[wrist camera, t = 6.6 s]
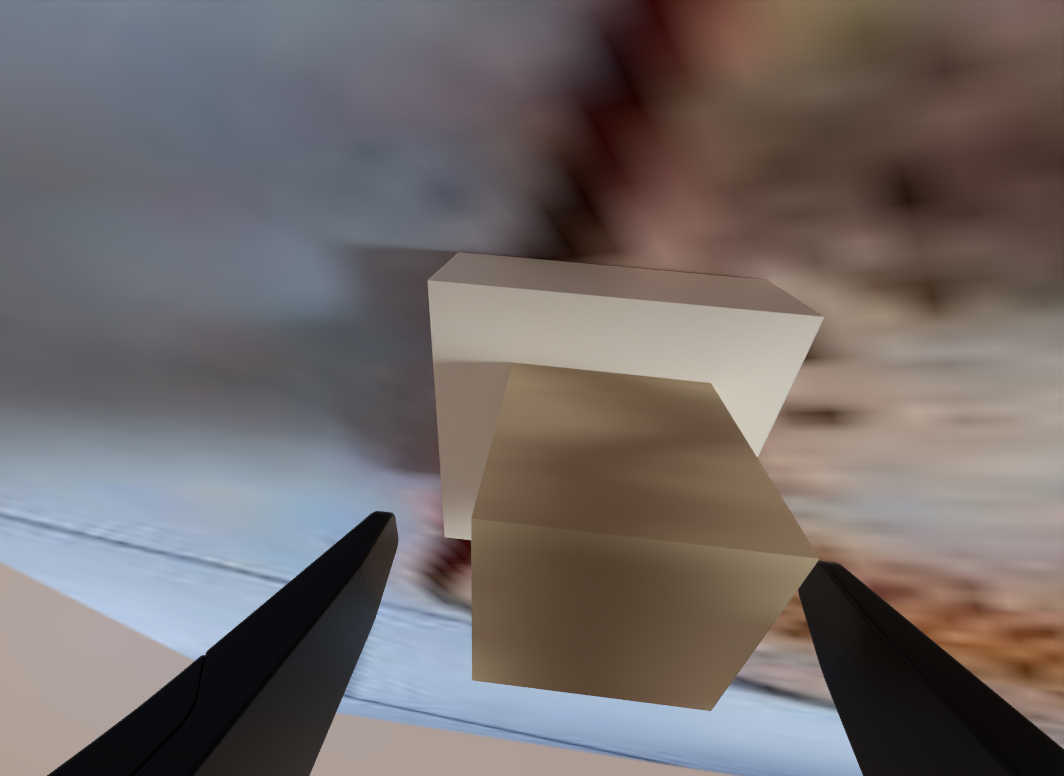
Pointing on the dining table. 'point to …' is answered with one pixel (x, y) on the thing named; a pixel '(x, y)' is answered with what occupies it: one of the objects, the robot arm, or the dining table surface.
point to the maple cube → (625, 540)
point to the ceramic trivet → (599, 345)
